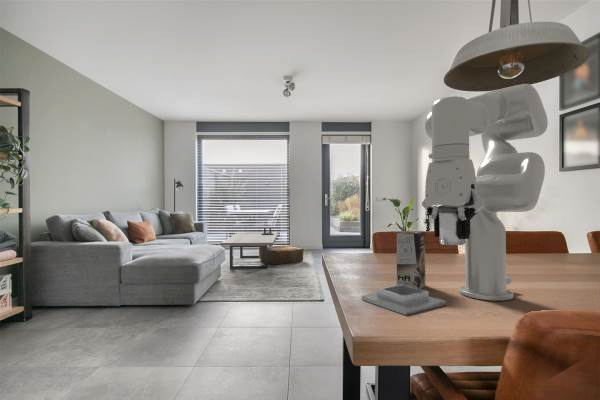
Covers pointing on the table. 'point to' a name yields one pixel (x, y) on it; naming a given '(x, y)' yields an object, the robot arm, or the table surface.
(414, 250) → the coffee box
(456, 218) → the grey jar with lid
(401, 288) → the collar
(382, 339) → the table surface
